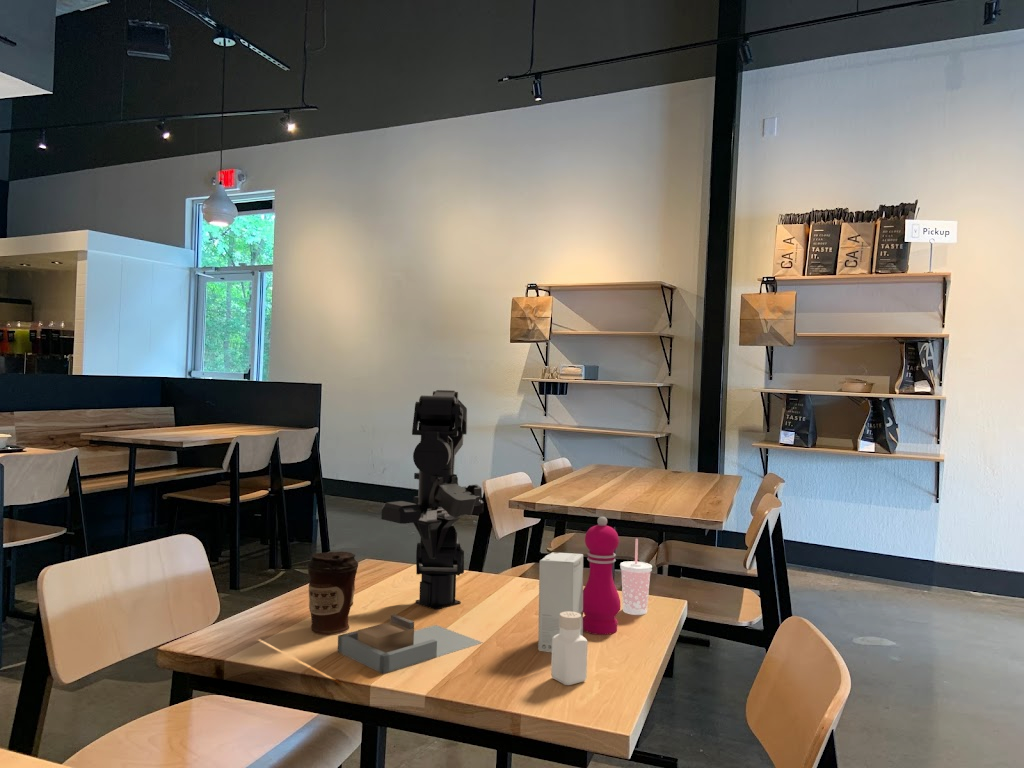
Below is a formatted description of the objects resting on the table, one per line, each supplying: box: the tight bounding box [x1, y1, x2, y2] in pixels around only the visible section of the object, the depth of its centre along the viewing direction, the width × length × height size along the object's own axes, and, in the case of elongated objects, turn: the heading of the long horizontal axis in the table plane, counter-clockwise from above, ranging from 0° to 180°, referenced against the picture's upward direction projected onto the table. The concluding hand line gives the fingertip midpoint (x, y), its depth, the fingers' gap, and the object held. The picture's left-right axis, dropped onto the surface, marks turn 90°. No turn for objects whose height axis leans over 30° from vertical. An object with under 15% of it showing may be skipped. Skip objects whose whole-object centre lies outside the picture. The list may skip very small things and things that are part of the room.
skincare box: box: [537, 551, 584, 653], centre depth 120 cm, size 8×6×15 cm
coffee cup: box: [307, 551, 359, 636], centre depth 124 cm, size 9×8×13 cm
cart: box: [357, 614, 415, 653], centre depth 113 cm, size 7×5×5 cm
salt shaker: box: [550, 611, 588, 686], centre depth 106 cm, size 4×4×10 cm
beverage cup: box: [619, 538, 653, 616], centre depth 141 cm, size 6×6×14 cm
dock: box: [337, 624, 484, 675], centre depth 116 cm, size 20×12×3 cm, turn 136°
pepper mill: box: [583, 516, 622, 636], centre depth 129 cm, size 7×7×20 cm
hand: (433, 558), depth 126 cm, fingers closed
